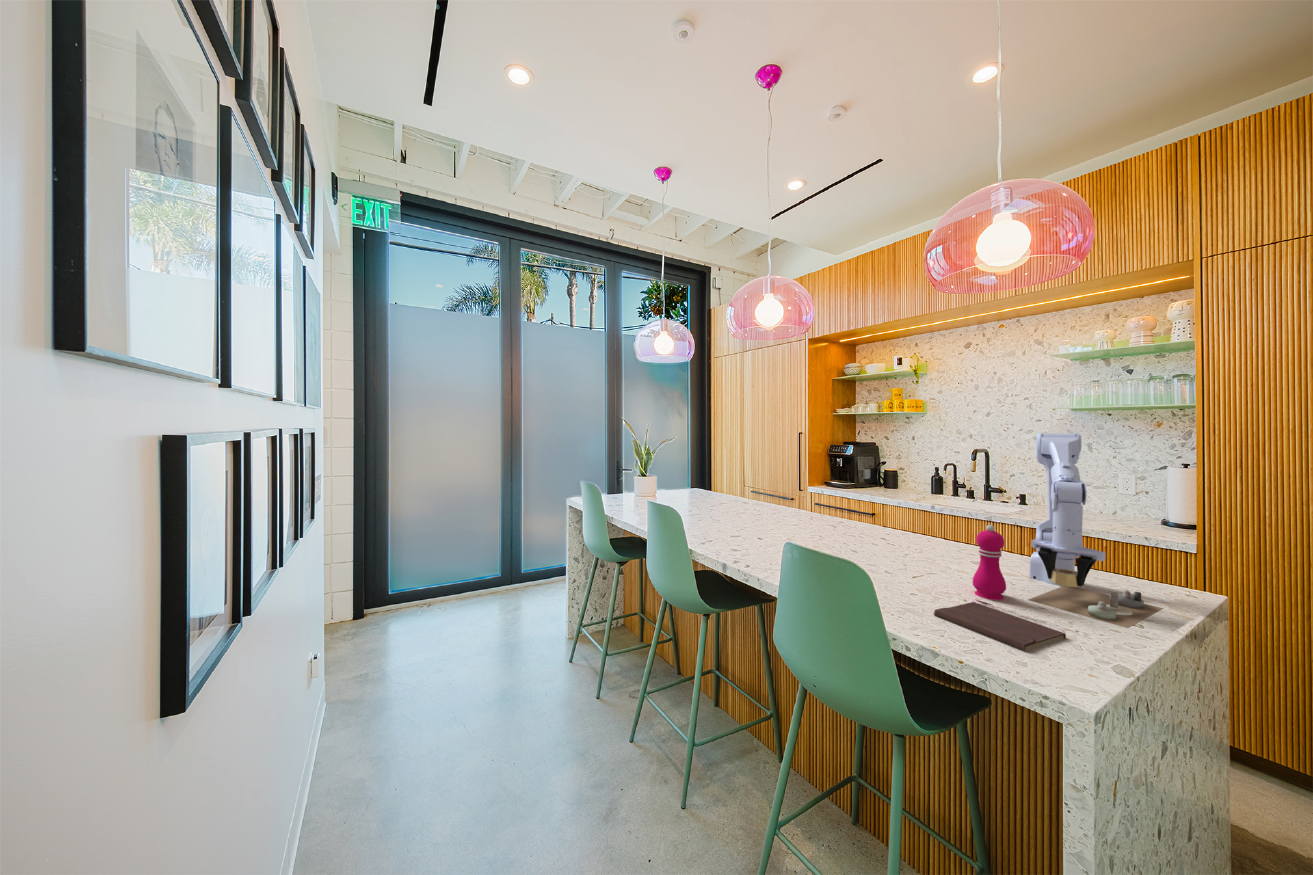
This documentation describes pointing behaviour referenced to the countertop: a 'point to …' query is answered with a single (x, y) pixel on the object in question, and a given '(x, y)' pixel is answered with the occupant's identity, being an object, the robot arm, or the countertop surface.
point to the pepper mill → (989, 566)
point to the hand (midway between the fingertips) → (1065, 581)
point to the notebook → (1000, 626)
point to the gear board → (1099, 605)
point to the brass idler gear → (1064, 577)
